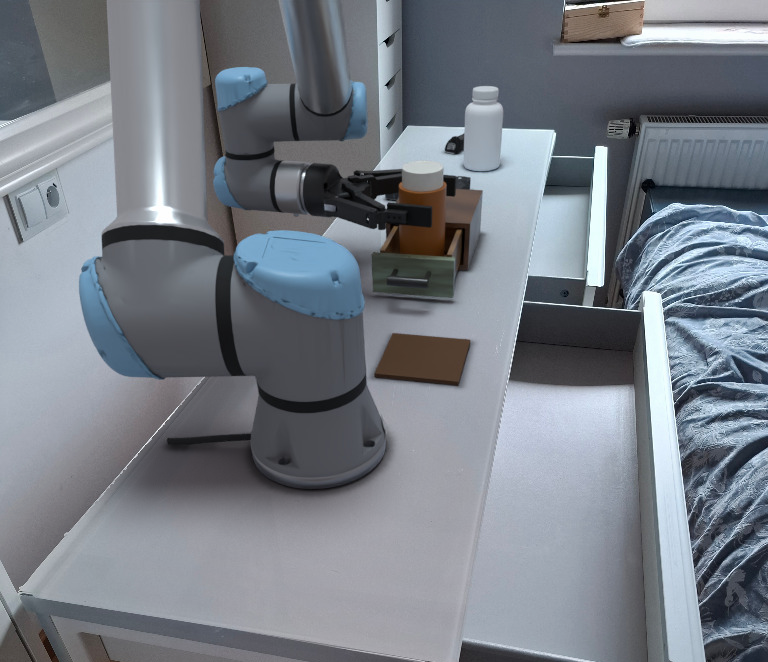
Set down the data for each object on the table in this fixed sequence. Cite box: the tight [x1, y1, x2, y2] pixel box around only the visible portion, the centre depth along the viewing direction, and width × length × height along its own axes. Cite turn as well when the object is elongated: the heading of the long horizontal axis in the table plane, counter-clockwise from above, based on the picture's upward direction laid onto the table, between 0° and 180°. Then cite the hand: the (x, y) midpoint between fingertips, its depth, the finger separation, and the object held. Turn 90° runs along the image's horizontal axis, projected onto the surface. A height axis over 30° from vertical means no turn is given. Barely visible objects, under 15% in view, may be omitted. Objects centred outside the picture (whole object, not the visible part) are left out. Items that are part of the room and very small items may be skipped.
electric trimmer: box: [444, 133, 464, 155], centre depth 167 cm, size 4×16×3 cm, turn 142°
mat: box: [374, 332, 471, 386], centre depth 96 cm, size 11×11×1 cm
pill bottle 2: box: [462, 85, 504, 172], centre depth 151 cm, size 8×8×15 cm
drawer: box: [370, 224, 464, 299], centre depth 110 cm, size 19×12×6 cm, turn 167°
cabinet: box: [385, 189, 484, 271], centre depth 121 cm, size 16×14×8 cm
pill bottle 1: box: [399, 160, 446, 257], centre depth 108 cm, size 7×7×15 cm
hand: (444, 201), depth 105 cm, fingers open, 12 cm apart
